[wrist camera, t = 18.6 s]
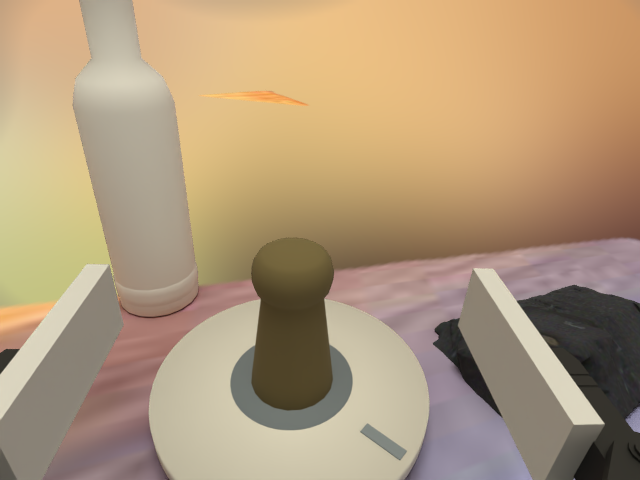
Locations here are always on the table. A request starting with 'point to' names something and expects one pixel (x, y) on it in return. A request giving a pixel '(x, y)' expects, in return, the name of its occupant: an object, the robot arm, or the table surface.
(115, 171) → the bottle
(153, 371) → the table surface
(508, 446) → the table surface
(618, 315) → the dark grey folded cloth
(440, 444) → the table surface
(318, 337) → the cork
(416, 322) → the table surface
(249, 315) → the turntable
